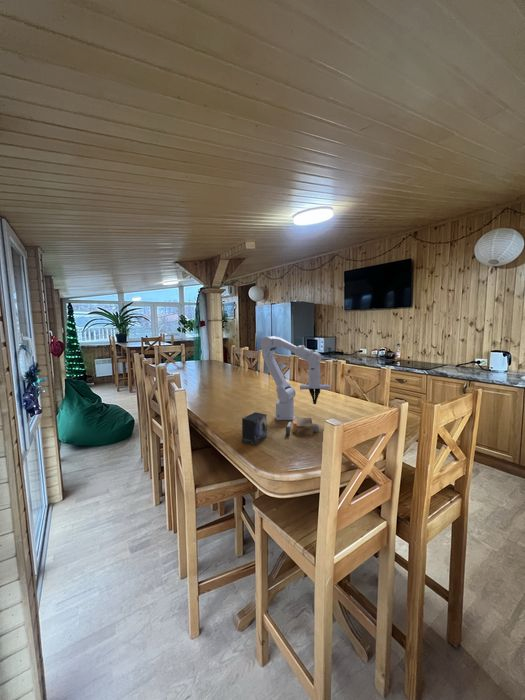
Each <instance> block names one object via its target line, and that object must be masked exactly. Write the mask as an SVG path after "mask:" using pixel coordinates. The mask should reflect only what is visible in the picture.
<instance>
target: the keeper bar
mask: <svg viewBox="0 0 525 700" xmlns="http://www.w3.org/2000/svg"><path fill="white" fill-rule="evenodd" d="M287 426H289V427H290V430H291V428H292V421H288V423H287Z"/></svg>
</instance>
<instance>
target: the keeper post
mask: <svg viewBox="0 0 525 700" xmlns="http://www.w3.org/2000/svg"><path fill="white" fill-rule="evenodd" d="M285 436H286V437H290V436H291V429H290V427H289V426H288V425H286V426H285Z"/></svg>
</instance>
